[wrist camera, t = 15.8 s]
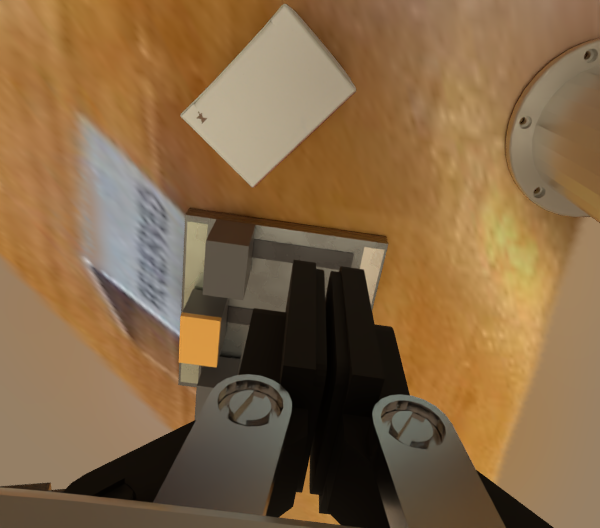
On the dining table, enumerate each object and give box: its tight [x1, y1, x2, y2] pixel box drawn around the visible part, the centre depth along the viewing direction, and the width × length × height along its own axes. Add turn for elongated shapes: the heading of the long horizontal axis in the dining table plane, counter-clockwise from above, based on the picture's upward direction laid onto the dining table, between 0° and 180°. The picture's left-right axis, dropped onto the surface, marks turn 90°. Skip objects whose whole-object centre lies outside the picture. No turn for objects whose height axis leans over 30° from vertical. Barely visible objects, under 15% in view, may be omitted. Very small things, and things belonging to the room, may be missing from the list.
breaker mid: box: [179, 289, 229, 368], centre depth 40 cm, size 3×4×4 cm
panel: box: [178, 208, 388, 387], centre depth 43 cm, size 16×17×2 cm
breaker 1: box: [202, 219, 255, 300], centre depth 37 cm, size 3×4×4 cm
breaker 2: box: [195, 357, 241, 420], centre depth 43 cm, size 3×4×4 cm
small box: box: [181, 4, 356, 187], centre depth 30 cm, size 8×6×10 cm
